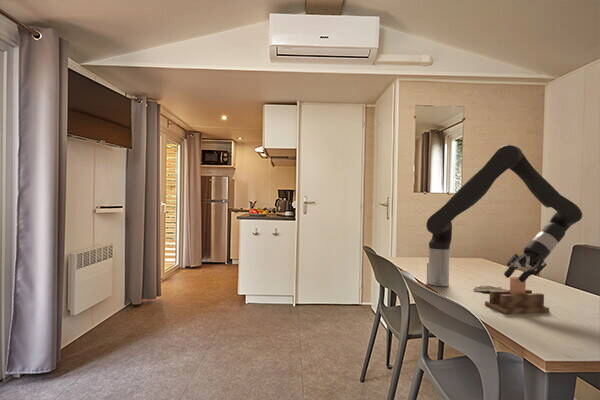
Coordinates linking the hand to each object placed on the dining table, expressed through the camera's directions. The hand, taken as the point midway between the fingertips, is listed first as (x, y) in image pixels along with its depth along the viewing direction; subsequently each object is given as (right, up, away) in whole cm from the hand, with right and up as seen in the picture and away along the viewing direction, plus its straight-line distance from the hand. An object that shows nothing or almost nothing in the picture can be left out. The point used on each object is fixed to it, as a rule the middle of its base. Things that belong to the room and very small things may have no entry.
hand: (513, 278), depth 139 cm
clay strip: (+2, -10, 0) cm, 10 cm away
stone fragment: (+9, -12, +22) cm, 27 cm away
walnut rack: (+1, -11, 0) cm, 12 cm away
